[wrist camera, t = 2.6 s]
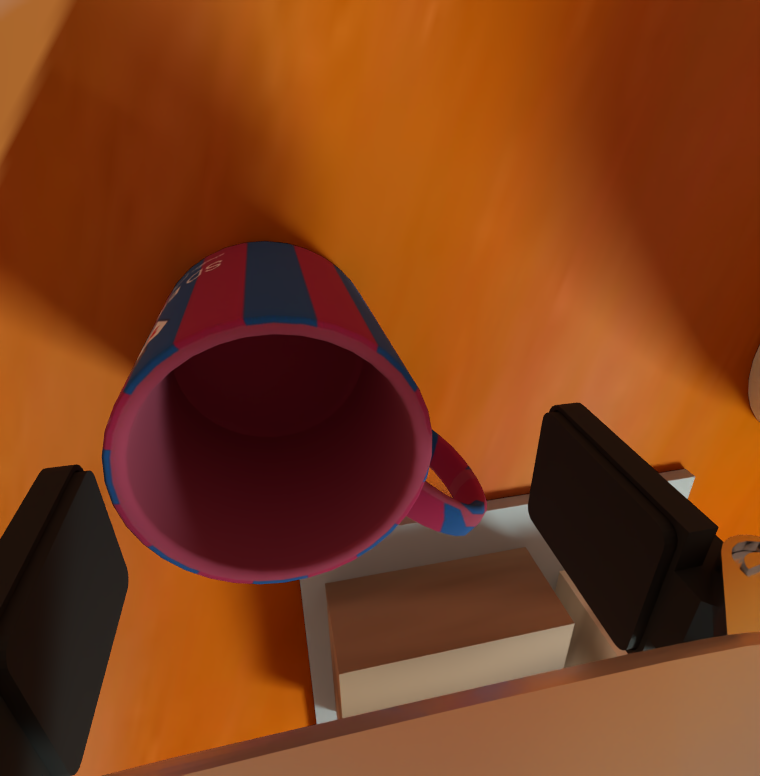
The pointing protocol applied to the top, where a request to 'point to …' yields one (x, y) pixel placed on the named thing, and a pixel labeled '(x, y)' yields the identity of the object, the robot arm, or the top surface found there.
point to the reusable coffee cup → (755, 386)
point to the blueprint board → (423, 547)
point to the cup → (275, 426)
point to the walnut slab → (442, 630)
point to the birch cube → (583, 627)
